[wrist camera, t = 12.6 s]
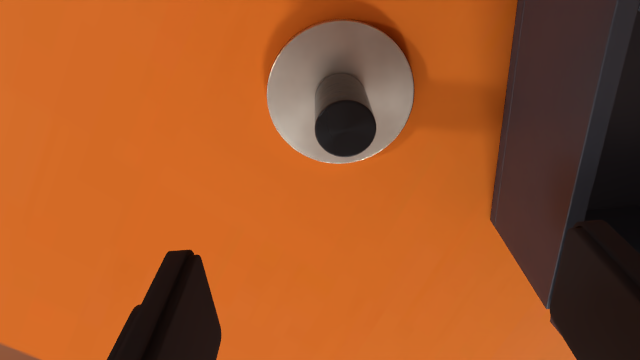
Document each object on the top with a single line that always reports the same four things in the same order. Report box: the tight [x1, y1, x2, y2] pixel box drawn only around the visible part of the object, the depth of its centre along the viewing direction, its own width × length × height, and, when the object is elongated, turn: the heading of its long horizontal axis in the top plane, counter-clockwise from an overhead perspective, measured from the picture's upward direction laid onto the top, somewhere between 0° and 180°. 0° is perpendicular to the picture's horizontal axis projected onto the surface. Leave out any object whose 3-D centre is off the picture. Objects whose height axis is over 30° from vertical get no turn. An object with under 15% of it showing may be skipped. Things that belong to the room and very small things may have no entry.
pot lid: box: [267, 19, 414, 164], centre depth 22 cm, size 8×8×5 cm
